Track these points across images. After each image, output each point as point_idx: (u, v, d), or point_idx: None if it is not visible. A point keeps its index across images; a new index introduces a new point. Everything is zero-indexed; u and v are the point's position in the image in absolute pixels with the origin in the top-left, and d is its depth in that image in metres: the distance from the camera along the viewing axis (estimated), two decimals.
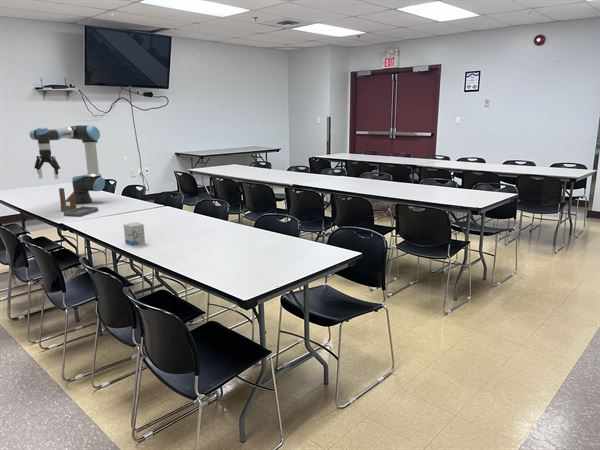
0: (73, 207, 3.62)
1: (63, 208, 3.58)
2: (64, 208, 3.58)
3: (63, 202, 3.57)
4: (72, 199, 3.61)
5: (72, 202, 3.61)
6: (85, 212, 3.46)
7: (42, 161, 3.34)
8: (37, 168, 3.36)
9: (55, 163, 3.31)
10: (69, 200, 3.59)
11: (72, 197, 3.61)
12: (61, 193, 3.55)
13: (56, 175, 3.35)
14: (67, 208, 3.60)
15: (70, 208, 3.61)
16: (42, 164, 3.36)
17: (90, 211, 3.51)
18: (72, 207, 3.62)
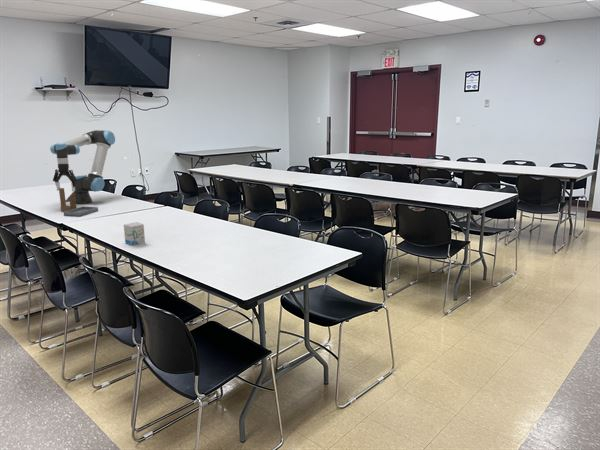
0: (73, 207, 3.62)
1: (63, 208, 3.58)
2: (64, 208, 3.58)
3: (63, 202, 3.57)
4: (72, 199, 3.61)
5: (72, 202, 3.61)
6: (85, 212, 3.46)
7: None
8: (55, 181, 3.57)
9: (72, 176, 3.53)
10: (69, 200, 3.59)
11: (72, 197, 3.61)
12: (61, 193, 3.55)
13: (73, 187, 3.56)
14: (67, 208, 3.60)
15: (70, 208, 3.61)
16: (60, 177, 3.57)
17: (90, 211, 3.51)
18: (72, 207, 3.62)
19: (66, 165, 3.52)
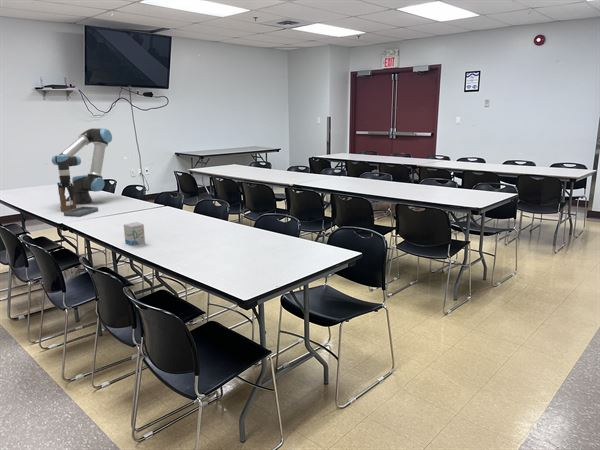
0: (73, 207, 3.63)
1: (63, 208, 3.58)
2: (64, 208, 3.58)
3: (63, 202, 3.57)
4: None
5: None
6: (85, 212, 3.46)
7: None
8: None
9: (72, 190, 3.56)
10: None
11: None
12: (61, 193, 3.55)
13: (71, 201, 3.60)
14: (67, 208, 3.60)
15: (70, 208, 3.61)
16: (64, 190, 3.60)
17: (90, 211, 3.51)
18: (72, 207, 3.62)
19: (68, 177, 3.54)
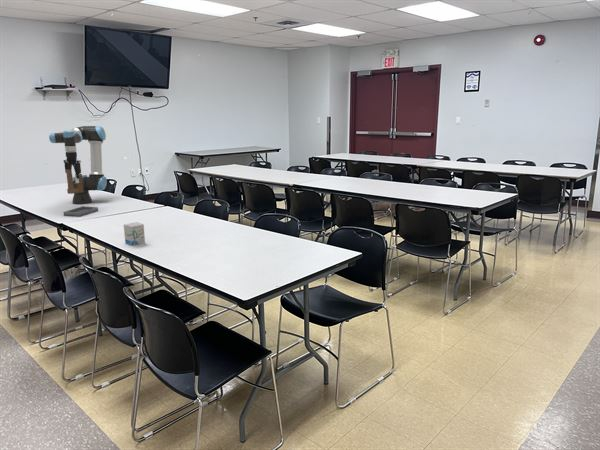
0: (80, 189, 3.51)
1: (71, 190, 3.45)
2: (72, 190, 3.46)
3: (71, 184, 3.45)
4: (79, 181, 3.50)
5: (79, 184, 3.50)
6: (85, 212, 3.46)
7: None
8: None
9: (78, 167, 3.43)
10: None
11: (79, 179, 3.50)
12: (69, 174, 3.43)
13: (77, 179, 3.47)
14: (74, 190, 3.48)
15: (77, 190, 3.49)
16: (71, 167, 3.47)
17: (90, 211, 3.51)
18: (79, 189, 3.51)
19: (74, 153, 3.41)
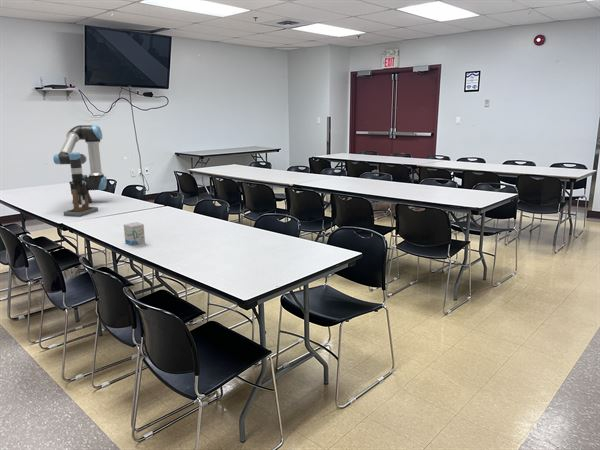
0: (86, 208, 3.53)
1: (77, 210, 3.47)
2: (78, 210, 3.48)
3: (77, 203, 3.46)
4: (85, 200, 3.51)
5: (85, 203, 3.52)
6: (85, 212, 3.46)
7: None
8: None
9: (84, 189, 3.45)
10: None
11: (85, 198, 3.51)
12: (75, 194, 3.44)
13: (83, 200, 3.49)
14: (80, 209, 3.49)
15: (83, 209, 3.51)
16: (77, 189, 3.48)
17: (90, 211, 3.51)
18: (85, 208, 3.52)
19: (80, 175, 3.43)
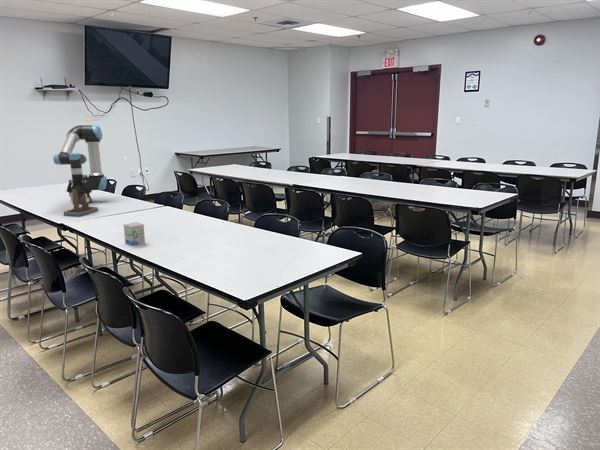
0: (86, 208, 3.53)
1: (77, 210, 3.47)
2: (78, 210, 3.48)
3: (77, 203, 3.46)
4: (85, 200, 3.51)
5: (85, 203, 3.52)
6: (85, 212, 3.46)
7: None
8: (69, 191, 3.48)
9: (87, 187, 3.44)
10: (82, 201, 3.49)
11: (85, 198, 3.51)
12: (75, 194, 3.44)
13: (87, 198, 3.47)
14: (80, 209, 3.49)
15: (83, 209, 3.51)
16: (74, 187, 3.49)
17: (90, 211, 3.51)
18: (85, 208, 3.52)
19: (80, 175, 3.43)
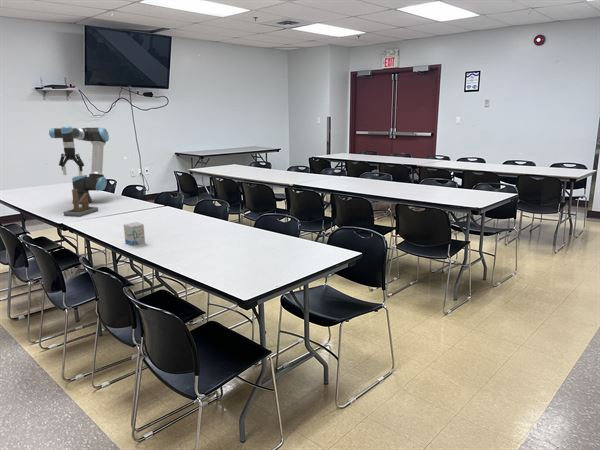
0: (86, 208, 3.53)
1: (77, 210, 3.47)
2: (78, 210, 3.48)
3: (77, 203, 3.46)
4: (85, 200, 3.51)
5: (85, 203, 3.52)
6: (85, 212, 3.46)
7: None
8: (61, 165, 3.50)
9: (79, 160, 3.47)
10: (82, 201, 3.49)
11: (85, 198, 3.51)
12: (75, 194, 3.44)
13: (80, 172, 3.50)
14: (80, 209, 3.49)
15: (83, 209, 3.51)
16: (66, 161, 3.51)
17: (90, 211, 3.51)
18: (85, 208, 3.52)
19: (72, 149, 3.45)
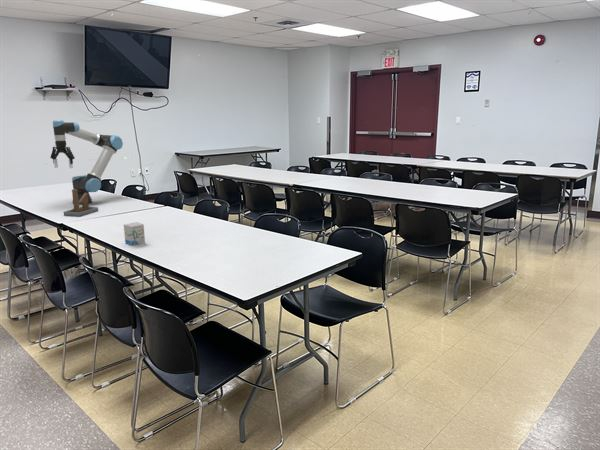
0: (86, 208, 3.53)
1: (77, 210, 3.47)
2: (78, 210, 3.48)
3: (77, 203, 3.46)
4: (85, 200, 3.51)
5: (85, 203, 3.52)
6: (85, 212, 3.46)
7: None
8: (53, 158, 3.60)
9: (70, 153, 3.56)
10: (82, 201, 3.49)
11: (85, 198, 3.51)
12: (75, 194, 3.44)
13: (71, 164, 3.59)
14: (80, 209, 3.49)
15: (83, 209, 3.51)
16: (58, 154, 3.60)
17: (90, 211, 3.51)
18: (85, 208, 3.52)
19: (63, 142, 3.55)
